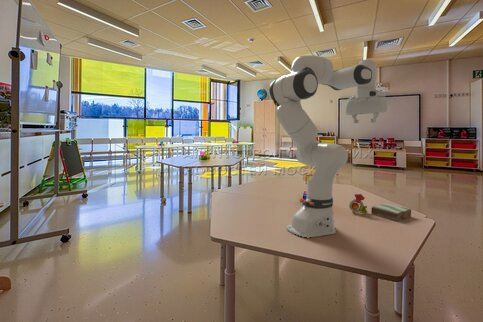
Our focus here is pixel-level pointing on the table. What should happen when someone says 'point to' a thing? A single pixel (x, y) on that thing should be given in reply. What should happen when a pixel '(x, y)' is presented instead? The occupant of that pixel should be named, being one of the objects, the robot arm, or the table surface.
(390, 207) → the sage green square tile
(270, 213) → the table surface
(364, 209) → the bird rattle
